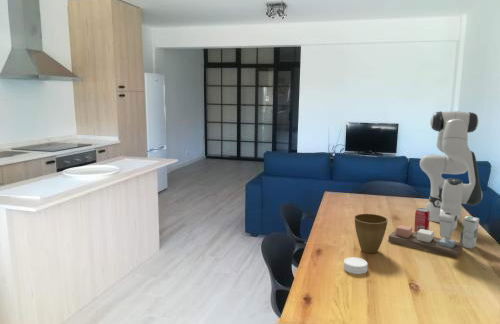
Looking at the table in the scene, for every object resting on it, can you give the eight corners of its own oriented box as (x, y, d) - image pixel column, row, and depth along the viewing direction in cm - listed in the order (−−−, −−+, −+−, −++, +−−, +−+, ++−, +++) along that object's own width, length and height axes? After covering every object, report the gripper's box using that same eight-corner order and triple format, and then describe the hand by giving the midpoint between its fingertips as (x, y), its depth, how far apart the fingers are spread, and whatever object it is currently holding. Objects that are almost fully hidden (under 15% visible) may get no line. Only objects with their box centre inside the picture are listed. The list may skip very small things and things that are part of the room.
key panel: (396, 234, 201) (396, 229, 200) (462, 249, 182) (462, 243, 181) (388, 241, 191) (388, 235, 190) (456, 257, 172) (457, 251, 171)
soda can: (429, 235, 199) (432, 212, 197) (415, 234, 201) (417, 211, 198) (426, 231, 206) (428, 208, 204) (412, 230, 208) (414, 207, 205)
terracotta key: (399, 231, 196) (400, 224, 195) (411, 234, 192) (412, 227, 192) (395, 235, 191) (396, 227, 191) (408, 237, 188) (408, 230, 187)
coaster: (363, 277, 153) (364, 268, 153) (339, 271, 158) (340, 263, 158) (370, 267, 162) (370, 260, 161) (347, 262, 167) (347, 254, 166)
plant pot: (385, 246, 184) (387, 215, 181) (385, 258, 170) (387, 224, 168) (353, 242, 189) (355, 211, 186) (351, 254, 175) (353, 221, 172)
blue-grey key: (441, 245, 184) (442, 237, 183) (455, 248, 180) (455, 240, 180) (438, 249, 179) (439, 241, 179) (452, 252, 176) (453, 244, 175)
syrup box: (463, 242, 190) (466, 215, 187) (476, 246, 185) (479, 217, 183) (459, 246, 186) (462, 217, 183) (472, 249, 181) (476, 220, 179)
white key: (420, 236, 190) (420, 228, 189) (432, 239, 186) (433, 231, 185) (416, 239, 185) (417, 232, 185) (429, 242, 182) (430, 234, 181)
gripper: (447, 207, 187) (445, 233, 189) (438, 216, 171) (435, 245, 173) (462, 209, 183) (459, 236, 185) (453, 219, 167) (450, 249, 170)
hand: (447, 241), depth 179 cm, fingers closed, pressing on blue-grey key
